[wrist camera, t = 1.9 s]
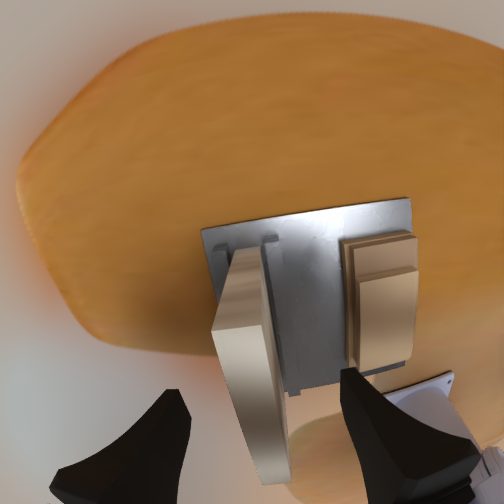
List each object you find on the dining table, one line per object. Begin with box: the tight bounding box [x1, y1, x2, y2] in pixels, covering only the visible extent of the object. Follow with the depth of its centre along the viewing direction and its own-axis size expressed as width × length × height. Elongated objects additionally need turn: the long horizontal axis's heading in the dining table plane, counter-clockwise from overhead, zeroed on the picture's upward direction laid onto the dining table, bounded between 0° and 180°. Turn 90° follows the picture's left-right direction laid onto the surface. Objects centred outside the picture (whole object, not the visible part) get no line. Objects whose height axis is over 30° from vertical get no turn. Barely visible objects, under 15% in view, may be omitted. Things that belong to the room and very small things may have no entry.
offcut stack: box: [341, 230, 419, 372], centre depth 17 cm, size 9×5×2 cm, turn 10°
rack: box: [201, 198, 412, 397], centre depth 17 cm, size 13×13×2 cm
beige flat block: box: [211, 246, 292, 485], centre depth 14 cm, size 10×2×9 cm, turn 10°
